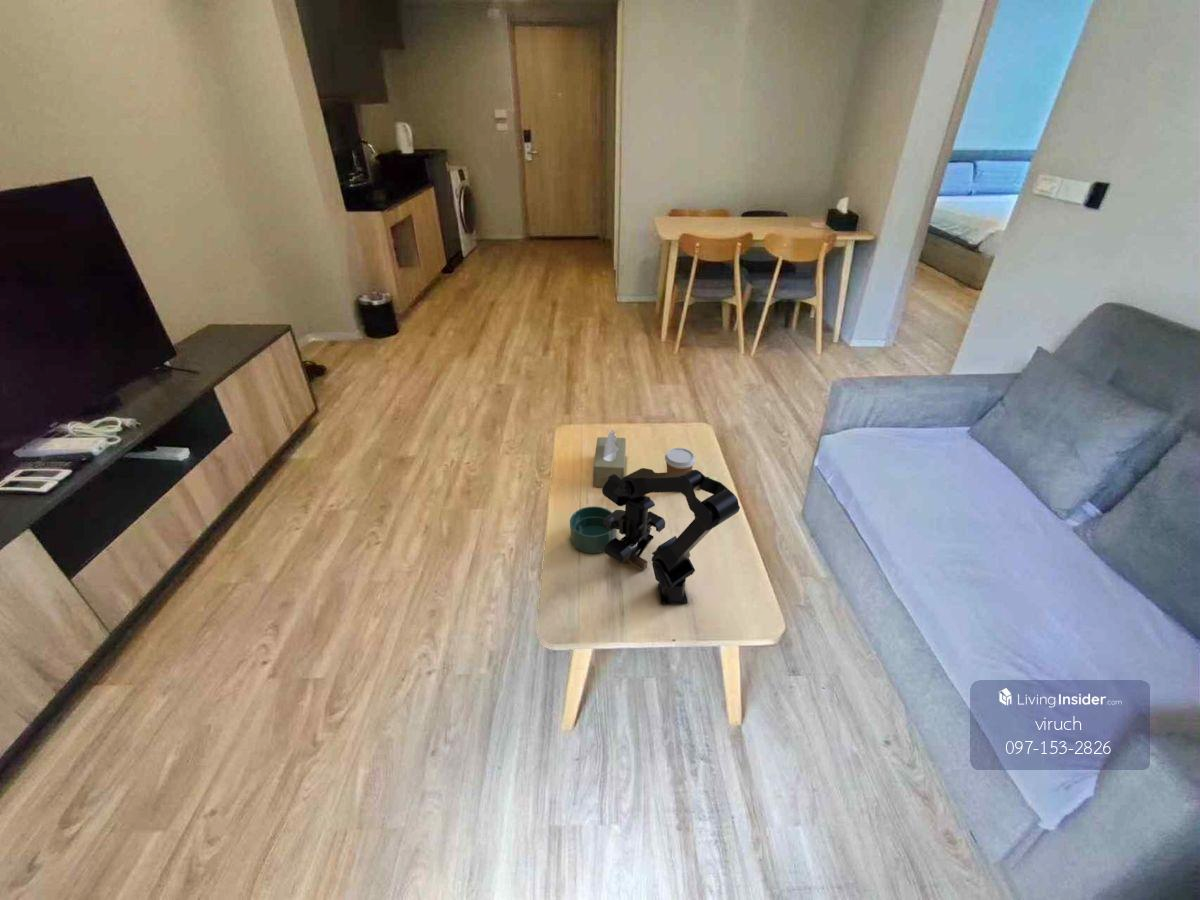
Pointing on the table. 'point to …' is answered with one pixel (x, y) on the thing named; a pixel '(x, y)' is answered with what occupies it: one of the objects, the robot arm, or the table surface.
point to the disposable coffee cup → (679, 460)
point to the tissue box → (609, 458)
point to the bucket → (590, 529)
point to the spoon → (639, 562)
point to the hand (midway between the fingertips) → (634, 559)
